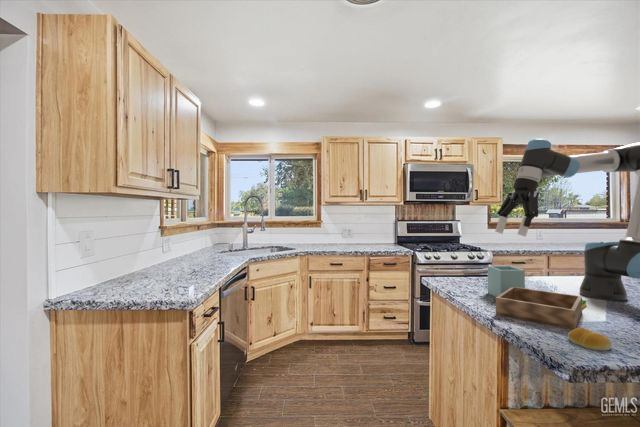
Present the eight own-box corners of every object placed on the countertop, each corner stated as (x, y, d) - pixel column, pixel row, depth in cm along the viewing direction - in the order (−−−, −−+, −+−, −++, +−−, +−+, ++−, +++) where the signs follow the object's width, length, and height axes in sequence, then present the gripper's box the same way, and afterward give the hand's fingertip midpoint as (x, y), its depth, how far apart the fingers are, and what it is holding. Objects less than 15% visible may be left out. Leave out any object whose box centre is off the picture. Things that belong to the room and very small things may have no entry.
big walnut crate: (582, 313, 115) (582, 296, 115) (574, 330, 99) (574, 310, 99) (512, 301, 130) (512, 286, 130) (495, 314, 114) (495, 297, 114)
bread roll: (599, 354, 83) (599, 338, 83) (563, 340, 92) (563, 326, 91) (619, 349, 86) (619, 334, 86) (582, 336, 94) (582, 323, 94)
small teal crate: (510, 292, 143) (510, 265, 143) (524, 299, 133) (524, 270, 133) (487, 293, 143) (487, 266, 143) (500, 299, 133) (500, 270, 133)
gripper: (498, 180, 134) (482, 228, 133) (542, 173, 109) (522, 233, 109) (515, 185, 134) (499, 234, 134) (562, 180, 109) (542, 240, 109)
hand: (509, 234), depth 121 cm, fingers open, 13 cm apart
